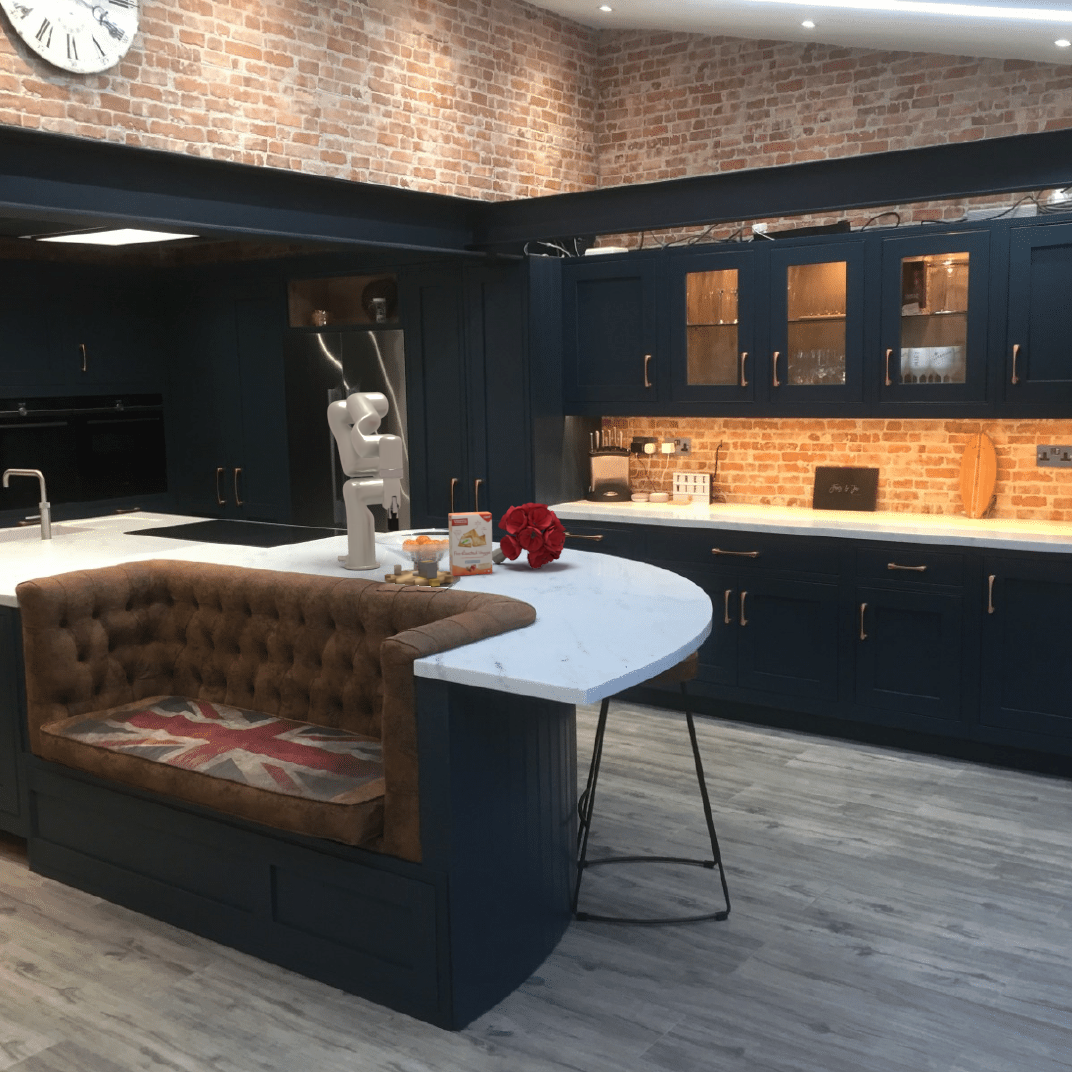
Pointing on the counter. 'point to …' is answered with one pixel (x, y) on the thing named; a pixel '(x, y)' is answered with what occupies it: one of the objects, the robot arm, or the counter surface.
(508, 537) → the bouquet
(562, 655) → the counter surface
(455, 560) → the cracker box
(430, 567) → the grey small block
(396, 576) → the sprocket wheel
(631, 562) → the counter surface
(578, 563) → the counter surface
